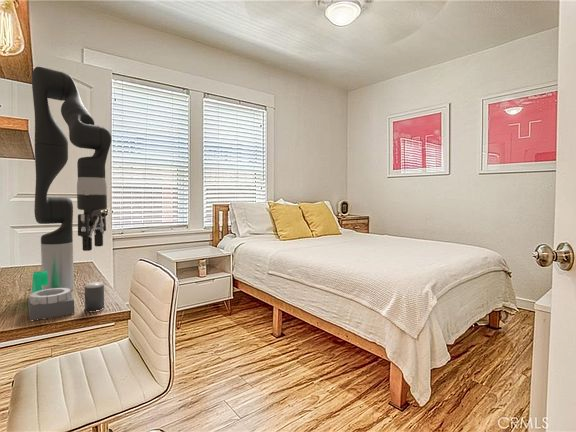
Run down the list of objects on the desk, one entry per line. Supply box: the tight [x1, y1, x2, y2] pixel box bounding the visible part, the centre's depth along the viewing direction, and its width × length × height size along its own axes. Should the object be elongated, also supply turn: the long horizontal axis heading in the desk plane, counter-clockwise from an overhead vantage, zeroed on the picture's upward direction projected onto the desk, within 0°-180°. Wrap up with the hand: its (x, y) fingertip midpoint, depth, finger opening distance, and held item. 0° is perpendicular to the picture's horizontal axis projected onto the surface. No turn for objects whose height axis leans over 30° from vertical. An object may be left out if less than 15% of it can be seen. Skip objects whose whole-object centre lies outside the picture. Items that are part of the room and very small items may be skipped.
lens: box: [84, 281, 105, 313], centre depth 99 cm, size 5×5×8 cm
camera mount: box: [31, 270, 48, 293], centre depth 106 cm, size 12×8×10 cm, turn 43°
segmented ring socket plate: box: [27, 288, 75, 322], centre depth 96 cm, size 10×10×6 cm
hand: (93, 248), depth 98 cm, fingers open, 8 cm apart
